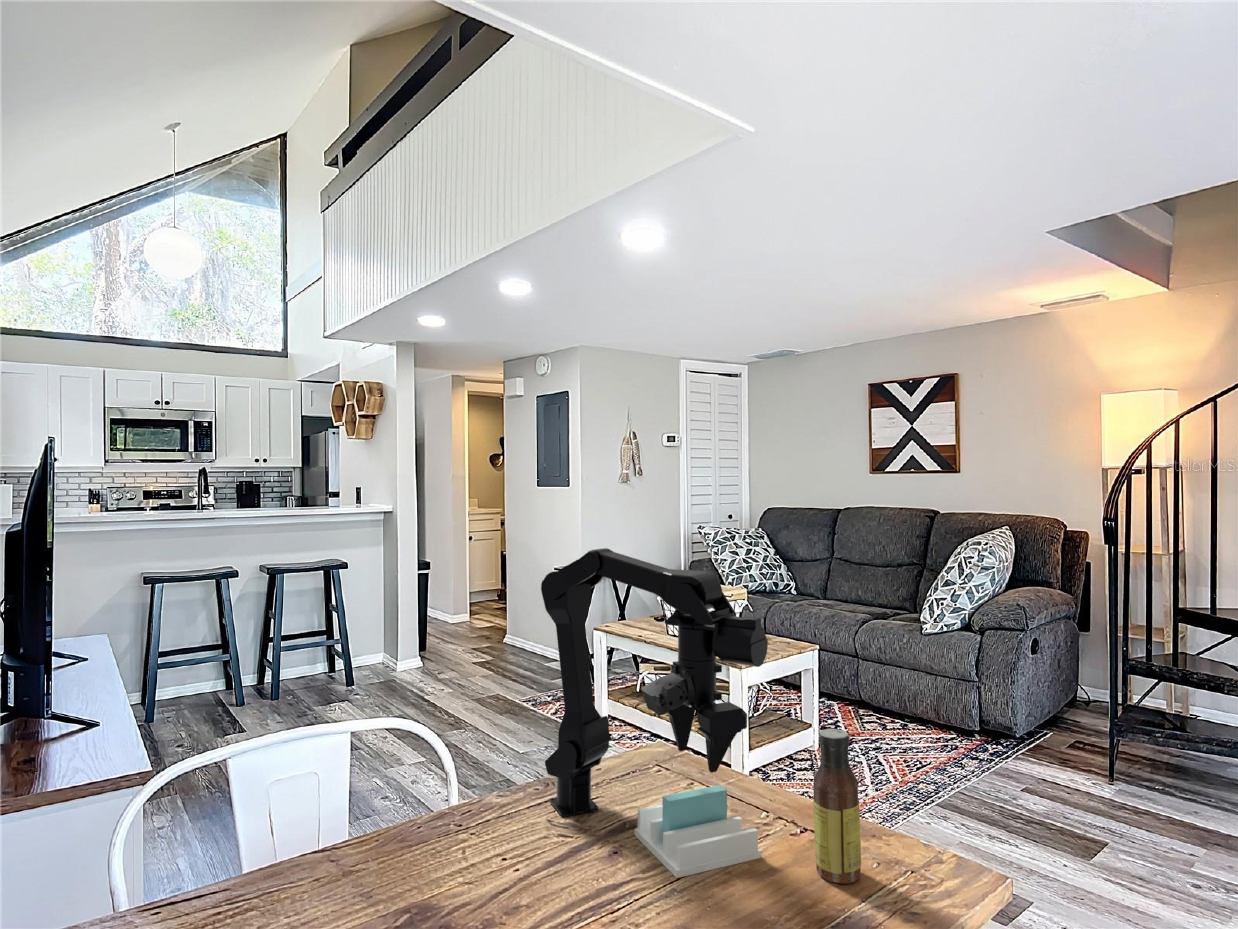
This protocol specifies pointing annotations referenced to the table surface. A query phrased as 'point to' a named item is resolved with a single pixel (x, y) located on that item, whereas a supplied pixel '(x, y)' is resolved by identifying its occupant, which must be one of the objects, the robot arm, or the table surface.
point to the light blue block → (694, 808)
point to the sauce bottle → (836, 811)
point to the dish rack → (696, 843)
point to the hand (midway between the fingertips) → (696, 761)
